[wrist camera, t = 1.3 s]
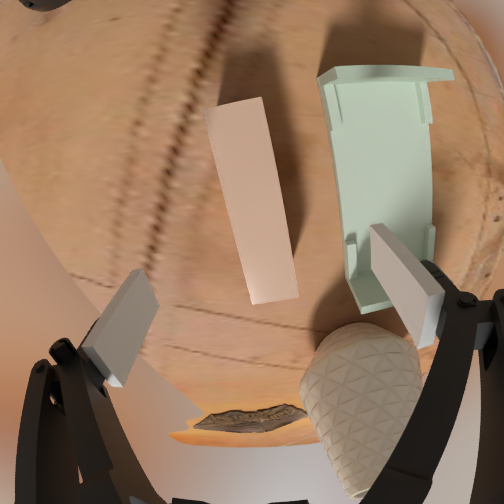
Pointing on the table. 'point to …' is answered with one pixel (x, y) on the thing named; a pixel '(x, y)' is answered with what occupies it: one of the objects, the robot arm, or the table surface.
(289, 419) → the wooden fragment
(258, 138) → the pinkish tan rectangular block
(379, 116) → the tray
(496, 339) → the robot arm
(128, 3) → the table surface
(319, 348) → the vase
